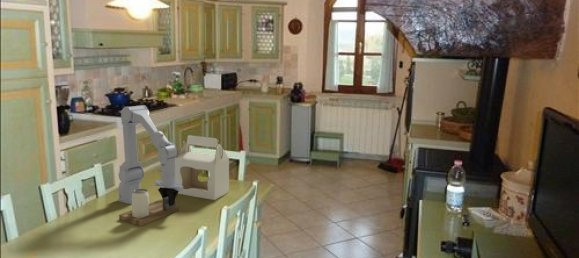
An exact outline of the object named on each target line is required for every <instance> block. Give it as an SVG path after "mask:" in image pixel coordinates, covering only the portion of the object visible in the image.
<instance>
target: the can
mask: <svg viewBox="0 0 579 258" xmlns="http://www.w3.org/2000/svg"><path fill="white" fill-rule="evenodd" d="M149 204H150V195H149V191H148V189H146V188H140V189H136V190H134V191H133V194H132V205H131V209H132V217H136V218H139V219H140V218H143V217H145V216H148V215H149Z"/></svg>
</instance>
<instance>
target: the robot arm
mask: <svg viewBox="0 0 579 258" xmlns="http://www.w3.org/2000/svg"><path fill="white" fill-rule="evenodd" d="M120 118H121V125H122V134H123V136H122V137H123V151H124V161H123V162H122V164H120V165H119V172H118V179H119V180H120V183H119V184H118V199H117V202H120V203H125V204H128V205H131V206H132V194H133V191H134V190H136V189H141V182H142V181H143V179H144V177H145V169H144V167H143V163H142V162H140V161H138V146H137V129H136V127H137V125H138V124H141V126H142V127H143V128H144V129H145V131H146V132H147V133H148V134H149V135H150V138H149V139H150V142H151V143H152V144H153V146H154V147H155V148H156V150H157V151H158V152H157V157H158V158H159V163H160V165H161V167H160V172H161V173H160V174H161V180H158V179H157V180H155V181H154V186H155V187H159V188H158V189H157V190H158V192H159V194H160V195H161V198H165V197H167V196H168V199H169V206H172V205H174V202H175V203H176V198H177V196H178V195H179V194H178V192H181V191H183V186H181V185H179V184H177V183H176V157H177V156H178V153H179V149H178V147H177V145H176V144H175V143H173V142H172V141H171V142H170V141H169V140H168V138H167V137H166V135H165V134H164V132H163V131H160V130H158V129H157V127H156V126H155V123H154V122H153V120H152V119H151V117H150V110H149V108H148V107H147V106H146V105H145V104H141V105H136V106H135V105H134V106H133V105H132V106H124V107H123V108H122V110H121V111H120Z"/></svg>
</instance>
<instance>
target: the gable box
mask: <svg viewBox="0 0 579 258" xmlns="http://www.w3.org/2000/svg"><path fill="white" fill-rule="evenodd" d="M219 141H220V140H219V139H218V138H217V137H209V136H203V135H194V134H189V135H187V139H186V140H183V142H182V145H181V147H180V150H178V156H177V157H175V170H176V183H177V184H179V185H181V186H183V191H181V192H178V194H177V195H182V194H183V195H184V196H189V197H194V198H200V199H207V200H211V201H216V200H217V199H220V198H221V197H223V196H225V195H227V194H228V193H230V158H229V156H228V154H227V152H226V151H225V150H224V148H223V144H220V143H219ZM192 145H193V146H200V147H201V146H202V147H209V148H215V155H214V154H208V153H200V152H199V153H198V152H193V151H192V149H191V146H192ZM199 170H204V171H207V172H208V173H209V176H208V179H207V180H206V181H201V180H199V178H198V177H199ZM183 195H182V196H183Z"/></svg>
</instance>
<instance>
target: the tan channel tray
mask: <svg viewBox="0 0 579 258" xmlns="http://www.w3.org/2000/svg"><path fill="white" fill-rule="evenodd" d="M161 198H162V197H161ZM179 208H180V205H176V201H175V202H174V205H172V206H169V199H168V196H167V197H165V198H162V200H156V201H153V202H151V203H150V202H149V215H148V216H145V217H143V218H140V219H139V218H136V217H132V210H129V211H126V212H123V213H120V214H119V215H118V217H119V219H118V220H120V221H122V222H126V223H129V224H132V225H135V226H138V227H143V226H145V225H147V224H150V223H151V222H154V221H157V220H160V219H161V218H164V217H166V216H170V215H171V214H174V213H176V212H179V211H180V210H179Z"/></svg>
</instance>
